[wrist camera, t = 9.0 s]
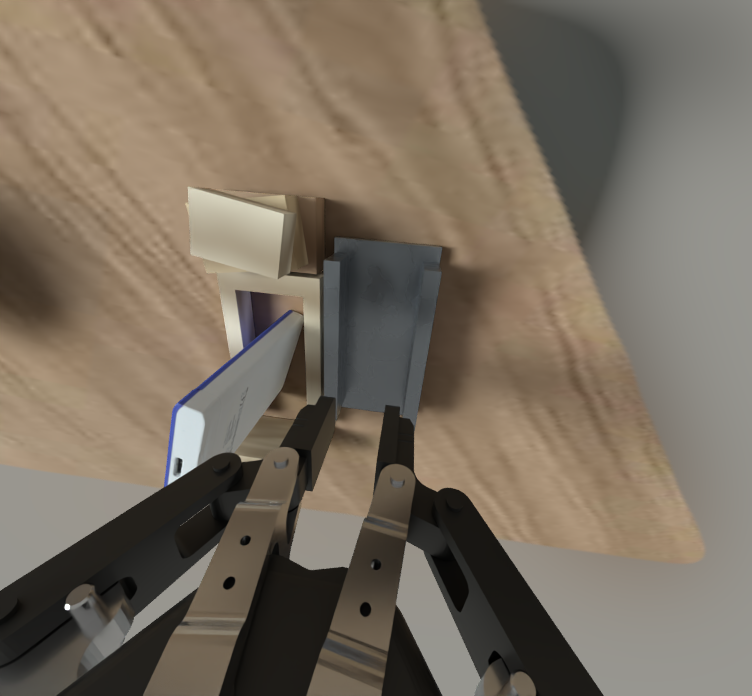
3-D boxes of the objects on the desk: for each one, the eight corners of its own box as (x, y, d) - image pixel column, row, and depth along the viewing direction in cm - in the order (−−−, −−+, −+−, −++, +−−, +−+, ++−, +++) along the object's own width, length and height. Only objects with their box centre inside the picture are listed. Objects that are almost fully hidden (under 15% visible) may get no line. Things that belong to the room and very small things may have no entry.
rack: (231, 263, 22) (185, 277, 18) (327, 272, 22) (304, 290, 17) (254, 425, 29) (225, 465, 25) (327, 435, 29) (310, 478, 24)
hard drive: (265, 385, 27) (159, 511, 16) (287, 308, 23) (171, 400, 12) (281, 392, 27) (187, 521, 16) (306, 316, 23) (207, 415, 12)
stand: (337, 236, 20) (321, 242, 17) (441, 246, 20) (446, 254, 16) (334, 400, 27) (322, 428, 23) (414, 410, 26) (413, 441, 23)
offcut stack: (223, 189, 20) (156, 184, 15) (324, 198, 19) (291, 195, 14) (233, 261, 22) (178, 278, 17) (324, 271, 22) (296, 291, 16)
